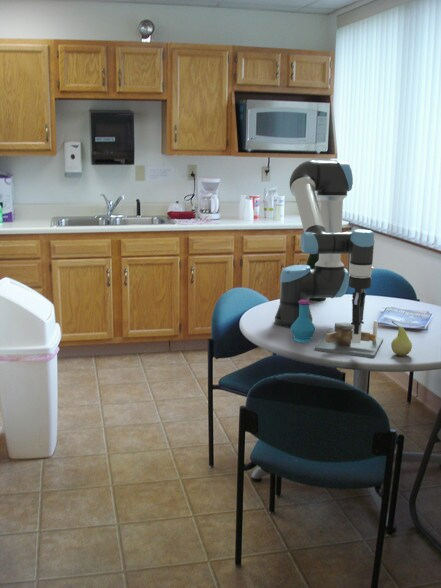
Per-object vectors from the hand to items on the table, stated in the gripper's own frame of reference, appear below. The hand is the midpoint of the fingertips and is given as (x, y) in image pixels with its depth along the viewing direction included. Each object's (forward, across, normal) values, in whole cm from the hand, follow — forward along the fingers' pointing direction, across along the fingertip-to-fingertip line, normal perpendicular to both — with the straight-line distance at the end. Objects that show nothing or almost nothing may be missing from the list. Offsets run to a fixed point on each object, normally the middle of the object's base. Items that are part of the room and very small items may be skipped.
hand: (356, 342), depth 236 cm
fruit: (+5, +6, -14) cm, 16 cm away
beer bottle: (+5, +75, +33) cm, 82 cm away
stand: (+5, +10, +4) cm, 12 cm away
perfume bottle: (+5, +10, +22) cm, 24 cm away
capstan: (+3, +7, +3) cm, 8 cm away
